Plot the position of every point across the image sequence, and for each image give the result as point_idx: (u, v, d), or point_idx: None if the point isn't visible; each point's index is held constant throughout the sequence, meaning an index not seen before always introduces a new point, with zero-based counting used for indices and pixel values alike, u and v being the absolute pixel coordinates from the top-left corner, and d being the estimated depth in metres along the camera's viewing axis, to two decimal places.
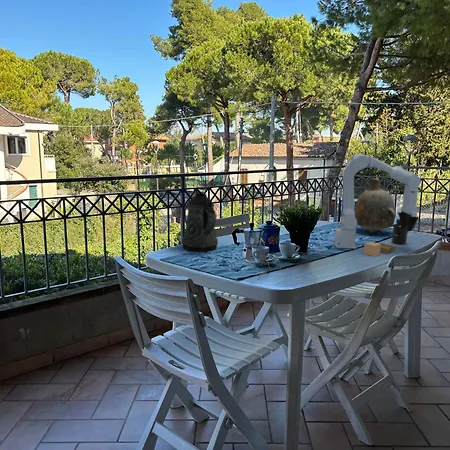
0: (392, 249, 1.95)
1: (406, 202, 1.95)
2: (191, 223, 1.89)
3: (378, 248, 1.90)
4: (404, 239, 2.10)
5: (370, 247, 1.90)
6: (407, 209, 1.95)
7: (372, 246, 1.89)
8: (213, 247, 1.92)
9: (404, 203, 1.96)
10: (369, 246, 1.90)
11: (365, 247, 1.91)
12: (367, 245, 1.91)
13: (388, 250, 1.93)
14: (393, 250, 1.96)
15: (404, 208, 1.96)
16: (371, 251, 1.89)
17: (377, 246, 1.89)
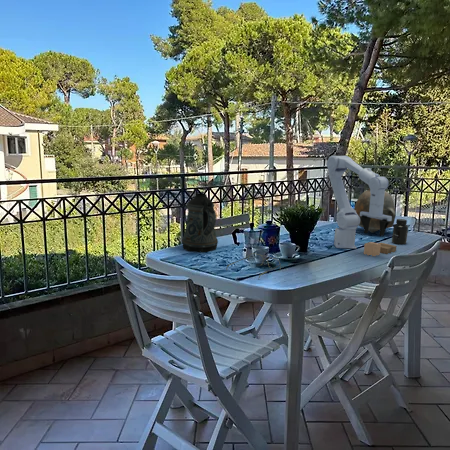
0: (392, 249, 1.95)
1: (377, 207, 1.85)
2: (191, 223, 1.89)
3: (378, 248, 1.90)
4: (404, 239, 2.10)
5: (369, 247, 1.90)
6: (378, 214, 1.85)
7: (372, 246, 1.89)
8: (213, 247, 1.92)
9: (374, 208, 1.85)
10: (369, 246, 1.90)
11: (365, 247, 1.91)
12: (367, 245, 1.91)
13: (388, 250, 1.93)
14: (393, 250, 1.96)
15: (375, 213, 1.86)
16: (371, 251, 1.89)
17: (377, 246, 1.89)
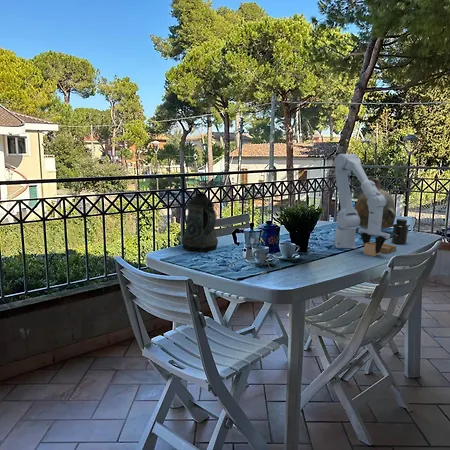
0: (392, 249, 1.95)
1: (375, 224, 1.87)
2: (191, 223, 1.89)
3: None
4: (404, 239, 2.10)
5: (369, 247, 1.90)
6: (377, 231, 1.87)
7: (372, 246, 1.89)
8: (213, 247, 1.92)
9: (373, 225, 1.87)
10: (369, 246, 1.90)
11: (365, 247, 1.91)
12: (367, 245, 1.90)
13: (388, 250, 1.93)
14: (393, 250, 1.96)
15: (373, 231, 1.87)
16: (371, 251, 1.89)
17: None
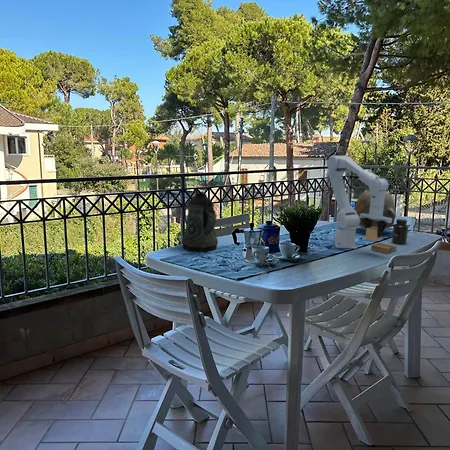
0: (392, 249, 1.95)
1: (377, 208, 1.85)
2: (191, 223, 1.89)
3: None
4: (404, 239, 2.10)
5: (371, 231, 1.88)
6: (378, 216, 1.86)
7: (374, 230, 1.87)
8: (213, 247, 1.92)
9: (375, 210, 1.86)
10: (371, 230, 1.88)
11: (367, 232, 1.90)
12: (369, 230, 1.89)
13: (388, 250, 1.93)
14: (393, 250, 1.96)
15: (375, 215, 1.86)
16: (373, 235, 1.88)
17: None
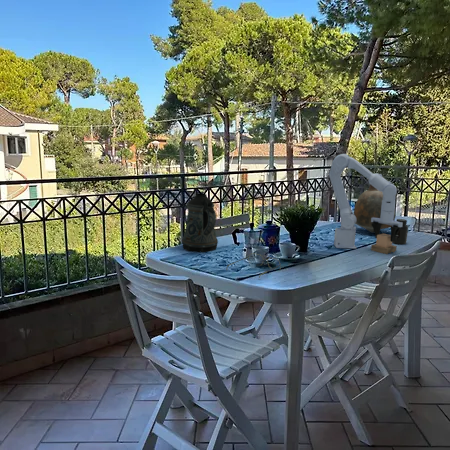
0: (392, 249, 1.95)
1: (388, 213, 1.92)
2: (191, 223, 1.89)
3: None
4: (404, 239, 2.10)
5: (382, 238, 1.95)
6: (389, 220, 1.92)
7: (384, 237, 1.94)
8: (213, 247, 1.92)
9: (386, 214, 1.92)
10: (381, 237, 1.95)
11: (377, 238, 1.97)
12: (379, 236, 1.96)
13: (388, 250, 1.93)
14: (393, 250, 1.96)
15: (386, 219, 1.93)
16: (383, 242, 1.95)
17: (389, 237, 1.95)
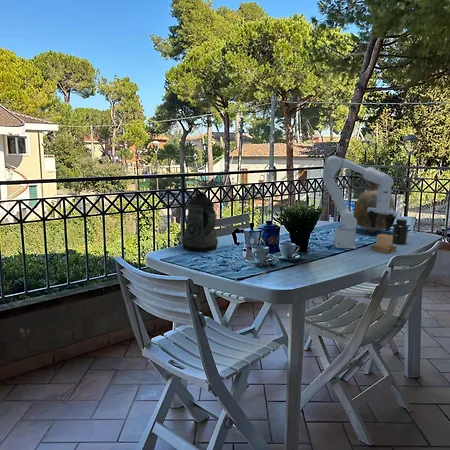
0: (392, 249, 1.95)
1: (384, 203, 1.96)
2: (191, 223, 1.89)
3: (390, 239, 1.96)
4: (404, 239, 2.10)
5: (382, 238, 1.95)
6: (385, 209, 1.96)
7: (384, 237, 1.94)
8: (213, 247, 1.92)
9: (381, 204, 1.96)
10: (381, 237, 1.95)
11: (377, 238, 1.97)
12: (379, 236, 1.96)
13: (388, 250, 1.93)
14: (393, 250, 1.96)
15: (382, 209, 1.96)
16: (383, 242, 1.95)
17: (389, 237, 1.95)
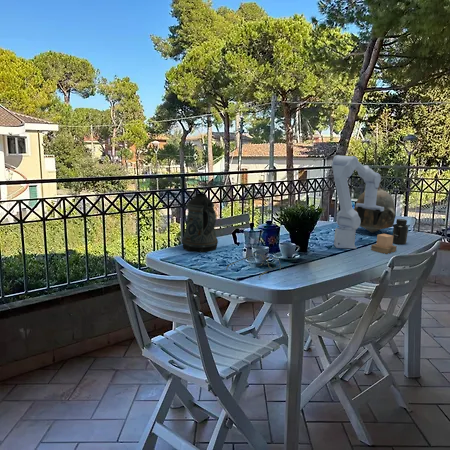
0: (392, 249, 1.95)
1: (371, 198, 2.08)
2: (191, 223, 1.89)
3: (390, 239, 1.95)
4: (404, 239, 2.10)
5: (382, 238, 1.95)
6: (372, 205, 2.09)
7: (384, 237, 1.94)
8: (213, 247, 1.92)
9: (369, 199, 2.08)
10: (381, 237, 1.95)
11: (378, 238, 1.97)
12: (380, 236, 1.96)
13: (388, 250, 1.93)
14: (393, 250, 1.96)
15: (369, 204, 2.09)
16: (383, 242, 1.95)
17: (389, 237, 1.95)
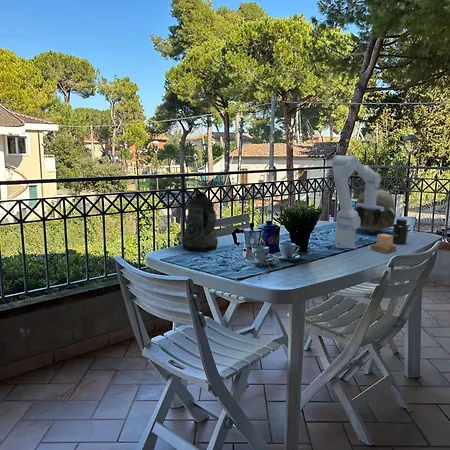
0: (392, 249, 1.96)
1: (371, 198, 2.08)
2: (191, 223, 1.89)
3: (390, 239, 1.96)
4: (404, 239, 2.10)
5: (382, 238, 1.95)
6: (372, 205, 2.09)
7: (384, 237, 1.94)
8: (213, 247, 1.92)
9: (369, 199, 2.08)
10: (381, 237, 1.95)
11: (378, 238, 1.97)
12: (379, 236, 1.96)
13: (388, 250, 1.93)
14: (393, 250, 1.96)
15: (369, 204, 2.09)
16: (383, 242, 1.95)
17: (389, 237, 1.95)
